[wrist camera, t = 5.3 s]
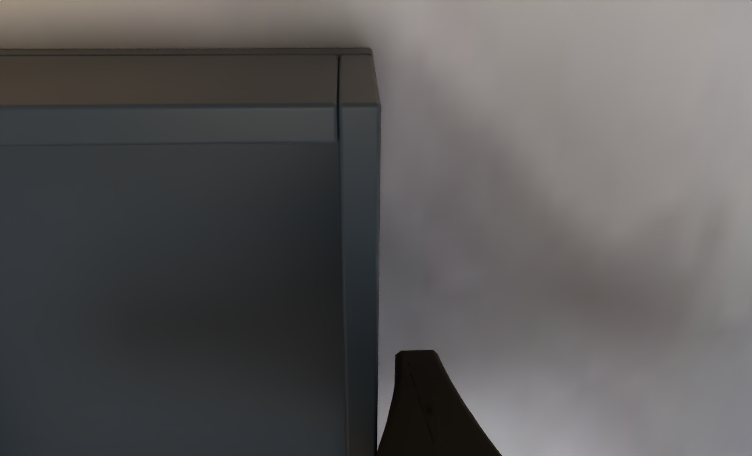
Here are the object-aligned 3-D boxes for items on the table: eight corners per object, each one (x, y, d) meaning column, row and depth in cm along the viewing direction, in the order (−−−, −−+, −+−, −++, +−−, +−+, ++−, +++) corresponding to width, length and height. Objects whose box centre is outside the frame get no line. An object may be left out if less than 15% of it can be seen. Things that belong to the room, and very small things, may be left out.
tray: (372, 47, 12) (381, 103, 9) (369, 532, 18) (374, 654, 15) (-252, 49, 11) (-463, 109, 8) (-17, 546, 18) (-85, 675, 15)
